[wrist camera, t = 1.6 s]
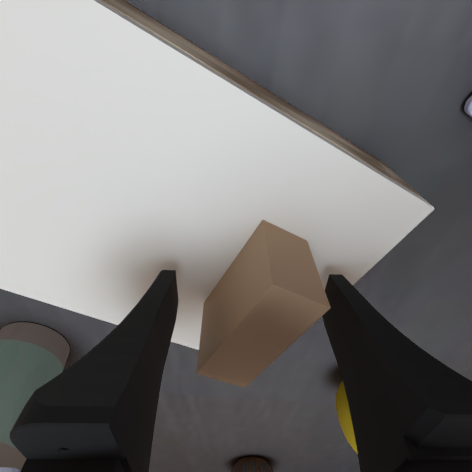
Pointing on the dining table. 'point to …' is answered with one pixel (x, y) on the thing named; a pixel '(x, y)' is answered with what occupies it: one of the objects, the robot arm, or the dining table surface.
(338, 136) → the box
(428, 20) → the dining table surface
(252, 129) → the lid
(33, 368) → the coffee cup
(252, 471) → the vase
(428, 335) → the dining table surface
